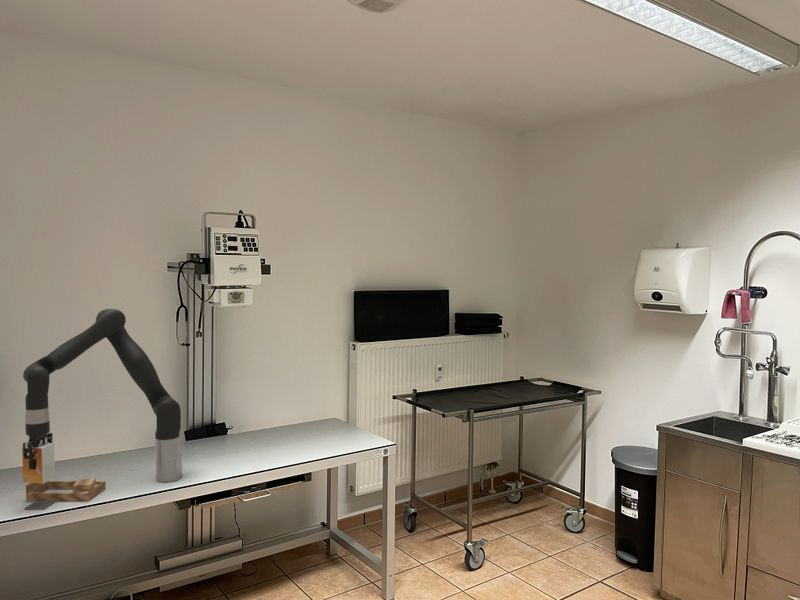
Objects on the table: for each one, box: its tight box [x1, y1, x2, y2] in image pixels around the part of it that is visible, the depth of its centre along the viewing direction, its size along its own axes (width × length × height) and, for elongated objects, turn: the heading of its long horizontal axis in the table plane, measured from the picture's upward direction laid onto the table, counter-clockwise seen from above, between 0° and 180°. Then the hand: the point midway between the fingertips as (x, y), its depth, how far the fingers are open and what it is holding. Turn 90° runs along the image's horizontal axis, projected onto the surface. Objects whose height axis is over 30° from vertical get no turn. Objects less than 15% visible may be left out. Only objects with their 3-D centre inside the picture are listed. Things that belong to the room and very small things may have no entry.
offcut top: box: [73, 477, 97, 492], centre depth 229 cm, size 6×7×2 cm
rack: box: [25, 480, 107, 503], centre depth 229 cm, size 23×13×6 cm, turn 90°
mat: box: [24, 501, 56, 511], centre depth 218 cm, size 7×7×1 cm
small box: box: [21, 442, 56, 484], centre depth 218 cm, size 8×6×13 cm
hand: (38, 465), depth 218 cm, fingers closed on small box, 6 cm apart
